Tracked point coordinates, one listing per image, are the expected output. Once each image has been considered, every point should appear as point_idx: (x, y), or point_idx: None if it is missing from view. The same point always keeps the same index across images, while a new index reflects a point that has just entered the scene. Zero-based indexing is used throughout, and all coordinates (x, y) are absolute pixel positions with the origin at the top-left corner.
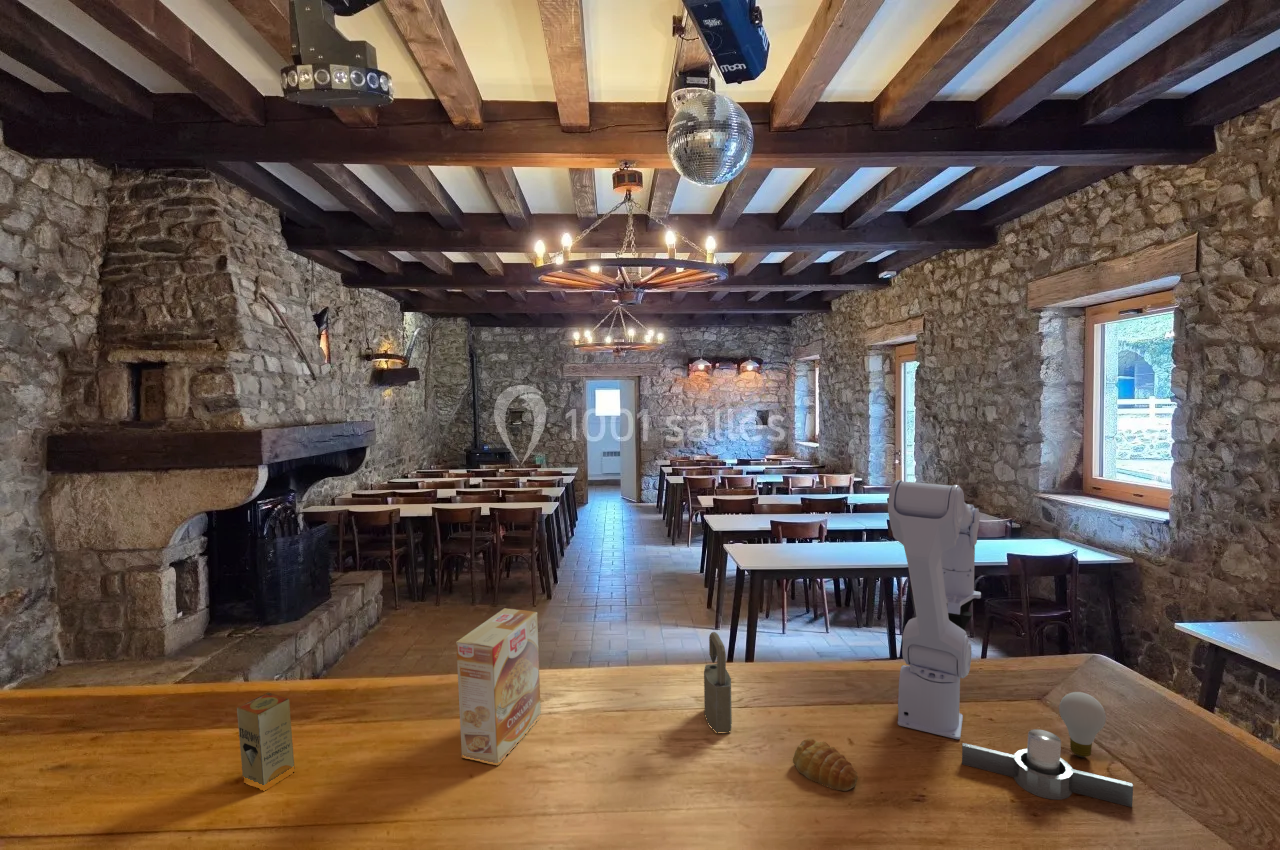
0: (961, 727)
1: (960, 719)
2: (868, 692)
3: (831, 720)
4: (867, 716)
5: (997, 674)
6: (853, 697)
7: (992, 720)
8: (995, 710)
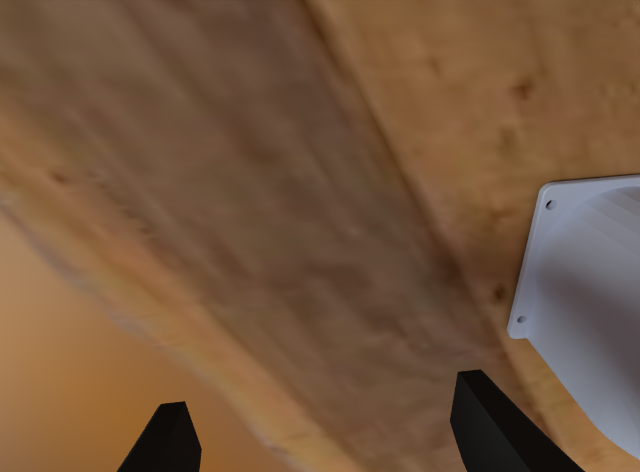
0: (635, 176)
1: (588, 187)
2: None
3: None
4: None
5: (66, 102)
6: None
7: (532, 81)
8: (443, 78)
